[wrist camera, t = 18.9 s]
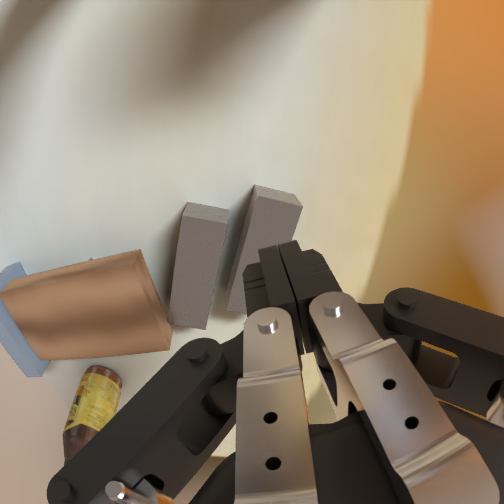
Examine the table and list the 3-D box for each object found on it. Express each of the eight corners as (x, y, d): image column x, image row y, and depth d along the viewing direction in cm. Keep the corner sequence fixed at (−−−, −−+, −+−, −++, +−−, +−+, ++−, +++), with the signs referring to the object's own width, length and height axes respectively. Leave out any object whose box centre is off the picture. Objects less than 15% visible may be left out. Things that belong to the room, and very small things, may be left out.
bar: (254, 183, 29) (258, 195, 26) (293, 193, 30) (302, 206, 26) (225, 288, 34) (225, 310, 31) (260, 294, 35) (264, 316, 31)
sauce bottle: (85, 358, 38) (42, 475, 20) (125, 371, 39) (95, 495, 21) (86, 383, 40) (52, 490, 23) (122, 395, 42) (98, 506, 24)
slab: (11, 279, 28) (-2, 293, 25) (140, 249, 27) (132, 264, 25) (48, 344, 32) (40, 360, 29) (172, 330, 32) (169, 349, 29)
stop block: (6, 266, 30) (-27, 301, 23) (19, 261, 30) (-14, 297, 23) (48, 337, 36) (27, 377, 29) (62, 335, 36) (41, 376, 29)
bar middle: (187, 201, 29) (182, 215, 26) (228, 208, 30) (228, 223, 27) (173, 301, 34) (167, 323, 31) (207, 307, 35) (205, 329, 32)
